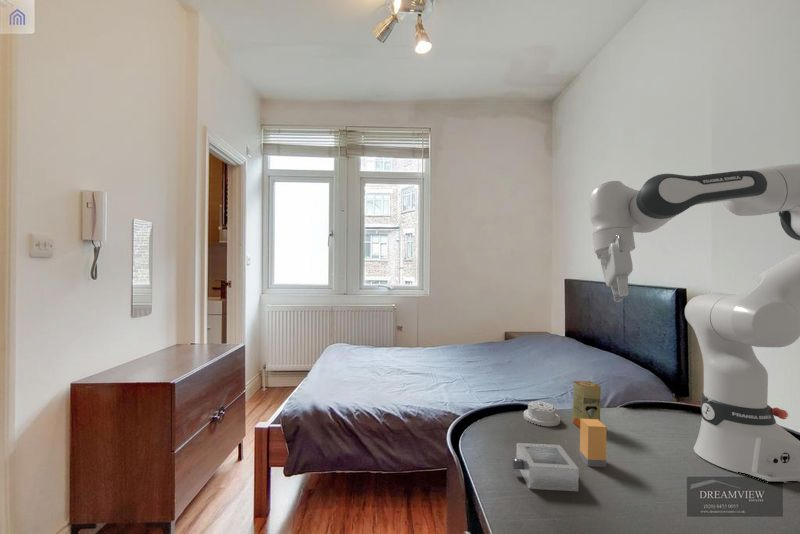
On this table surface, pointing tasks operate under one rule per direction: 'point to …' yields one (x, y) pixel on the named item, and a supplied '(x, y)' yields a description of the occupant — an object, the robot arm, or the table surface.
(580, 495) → the table surface
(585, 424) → the plug
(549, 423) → the mechanical component
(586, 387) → the shoe polish box
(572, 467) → the white shallow box
